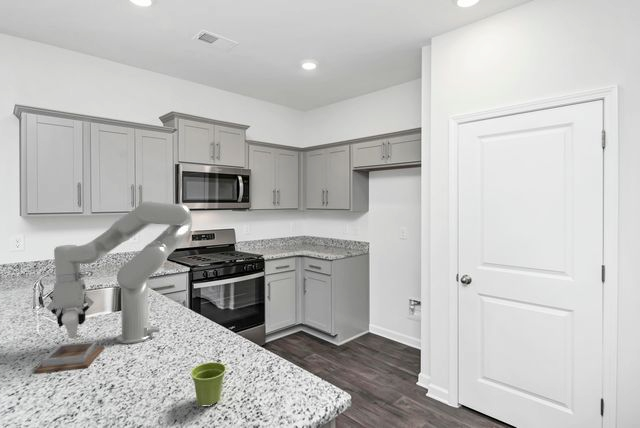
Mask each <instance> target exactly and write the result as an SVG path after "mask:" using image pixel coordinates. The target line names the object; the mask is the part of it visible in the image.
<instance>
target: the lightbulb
mask: <svg viewBox="0 0 640 428" xmlns="http://www.w3.org/2000/svg"><path fill="white" fill-rule="evenodd" d="M79 314H80V312H79V311H78V309H68V310H67V311H65V312H63V316H62V319H61V321H62V323H63V324H64V325H63V326H64V327H65V328H66V331H67V333H68V338H69V339H75V338H76V337H77V336H78V327H79V325H80V324H79V318H78V315H79Z"/></svg>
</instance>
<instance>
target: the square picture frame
mask: <svg viewBox="0 0 640 428" xmlns="http://www.w3.org/2000/svg"><path fill="white" fill-rule="evenodd" d="M98 347H99V341H88V342H81V343H71V344H60V345H58V346H57V347H55V349H54V350H53V351H51V352H50V353H49V354H48V355H46V356H45V357H44V358H42V360H41V364H42V368H45V367H54V366H64V365H73V364H83V363H85V362H86V361H87V360H88V359H89V358H90V357H91V355H92V354H93V353H94V352H95V351H96V350H97V349H98ZM76 351H85V352H84V353H83V354H82V355H78V356H68V357H58V356H59V355H60V354H62V353H66V352H76Z"/></svg>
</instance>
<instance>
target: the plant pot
mask: <svg viewBox="0 0 640 428" xmlns="http://www.w3.org/2000/svg"><path fill="white" fill-rule="evenodd" d="M226 371H227V366H226V365H225V364H224V363H221V362H215V361H212V362H211V361H209V362H205V363H201V364H198V365H196V366H195V367H193V368H192V369H191V371H190V376H191V378H192V381H193V383H194V390H195V397H196V398H195V399H196V402H197V404H198V405H199V404H200V405H211V404H213V405H215V404H214V403H216V402H218V401H219V400H221V397H222V396H221V395H222V388H223V380H224V377H225V374H226ZM219 402H220V401H219ZM219 402H218V403H219ZM216 404H217V403H216ZM200 405H199V406H200Z"/></svg>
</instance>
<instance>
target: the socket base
mask: <svg viewBox="0 0 640 428" xmlns="http://www.w3.org/2000/svg"><path fill="white" fill-rule="evenodd" d="M104 349H105V346H104V345H102V346H98V349H97V350H96V351H95V352H94V353H93V354H92V355H91V357H90V358H89V359H88V360H87V361H86V362H85V363H83V364H73V365H64V366H54V367H45V368H42V363H41V364H40V365H39V366H38V367H37V368H35V369H34V371H33V374H42V373H52V372H53V373H54V372H62V371H71V370H72V371H73V370H79V369H80V370H81V369H87V368H89V367H90V366H91V364H92V363H94V362H95V360H96V359H97V358H98V356H99V355H100V354H101V353H103V351H104ZM84 352H85V351H76V352H66V353H62V354H60V355H59V356H58V357H68V356H78V355H82V354H83V353H84Z"/></svg>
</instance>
